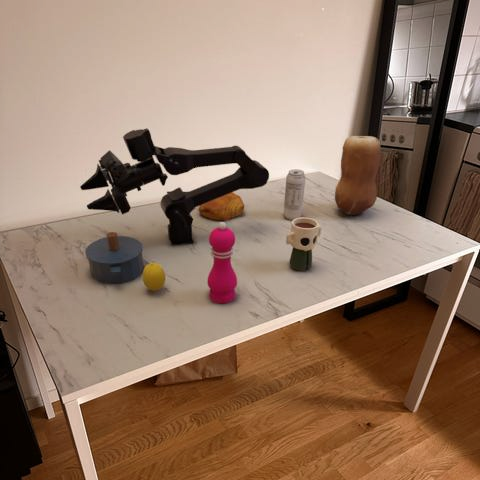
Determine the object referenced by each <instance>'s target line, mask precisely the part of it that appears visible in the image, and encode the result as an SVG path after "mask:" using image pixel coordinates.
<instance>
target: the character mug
mask: <svg viewBox="0 0 480 480" xmlns="http://www.w3.org/2000/svg"><path fill="white" fill-rule="evenodd" d="M321 234H322V225H319V222H318V221H317V220H316V219H314V218H310V217H302V216H300V218H296V219H294V220H291V225H290V232H287V233H286V238H285V244H286V245H290V246H291V247H292V249H291V252H290V253H291V254H290V258H289V262H288V263H289V264H288V265H290V267H291V268H292V269H294V270H297V271H307V270H306V269H307V267H308V270H310V269H311V268H312V267H313V249H314V248H315V247H316V246H317V243H318V238H320V237H321Z"/></svg>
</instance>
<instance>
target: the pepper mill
mask: <svg viewBox="0 0 480 480" xmlns="http://www.w3.org/2000/svg"><path fill="white" fill-rule="evenodd" d="M208 242H209V243H208V244H209V245H210V246H211V256H212V257H213V264H212V267H211V269H210V271H209V272H208V276H207V282H206V284H207V286H208V288H209V299H210V300H211V301H212V302H214V303H217V304H229V303H231V302H233V301H234V299H235V298H236V288H237V285H238V278H237V274H236V272H235V270H234V268H233V266H232V260H231V258H232V256H233V254H234V245H235V243H236V236H235V233H234V231H233V230H232V229H231V228H229V227H227V225H226V222H224V221H220V222H219V223H218V225H217V227H214V229H212V230H211V231H210V233H209V236H208Z"/></svg>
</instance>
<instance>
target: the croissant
mask: <svg viewBox="0 0 480 480" xmlns="http://www.w3.org/2000/svg"><path fill="white" fill-rule="evenodd" d="M244 210H245V204H244V201H243V199H242V197H241V196H240V195H239V194H236V193H234V192H232V193H229V194H227V195H224V196H222V197H219V198H217V199H214V200H212V201H210V202H207V203H205V204H202V205H200V206H198V213H199V214H200V215H201V216H203V217H205V218H208V219H211V220H218V221H219V220H224V221H228V220H231V219H232V218H236V217H238V216H240V215H241V214H242V213H243V212H244Z"/></svg>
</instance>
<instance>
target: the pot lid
mask: <svg viewBox="0 0 480 480" xmlns="http://www.w3.org/2000/svg"><path fill="white" fill-rule="evenodd" d="M143 250H144V246H143V244H142V242H141V241H140V240H139V239H136V238H134V237H132V236H131V237H130V236H126V235H118V233H117V232H115V231H110V232H107V233H106V237H102V238H99V239H96V240H95V241H93V242H91V243H90V244H89V245H88V246H87V247H86V248H85V252H84V253H85V257H86V258H87V260H88V259H89V260H90V261H92V262H94V263H98V264H103V265H115V264H122V263H126V262H129V261H131V260H133V259H135V258H137V257H138V256H139V255H140V254H141V253H143Z"/></svg>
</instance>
